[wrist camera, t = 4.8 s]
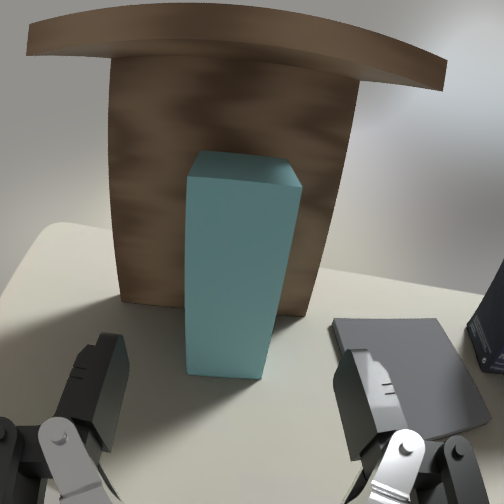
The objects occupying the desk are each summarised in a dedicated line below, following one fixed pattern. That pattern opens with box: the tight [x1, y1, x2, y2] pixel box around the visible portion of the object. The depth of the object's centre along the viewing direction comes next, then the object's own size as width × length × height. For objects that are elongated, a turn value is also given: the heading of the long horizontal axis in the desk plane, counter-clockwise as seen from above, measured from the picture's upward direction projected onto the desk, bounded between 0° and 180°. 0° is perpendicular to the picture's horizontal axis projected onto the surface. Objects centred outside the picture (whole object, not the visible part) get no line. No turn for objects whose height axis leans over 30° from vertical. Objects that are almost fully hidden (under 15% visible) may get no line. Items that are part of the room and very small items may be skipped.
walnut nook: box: [26, 3, 447, 316], centre depth 16 cm, size 14×10×18 cm
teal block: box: [185, 150, 303, 379], centre depth 17 cm, size 4×4×12 cm
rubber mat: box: [332, 318, 492, 441], centre depth 19 cm, size 10×11×1 cm
